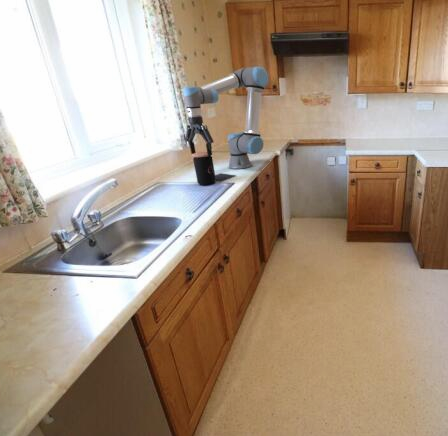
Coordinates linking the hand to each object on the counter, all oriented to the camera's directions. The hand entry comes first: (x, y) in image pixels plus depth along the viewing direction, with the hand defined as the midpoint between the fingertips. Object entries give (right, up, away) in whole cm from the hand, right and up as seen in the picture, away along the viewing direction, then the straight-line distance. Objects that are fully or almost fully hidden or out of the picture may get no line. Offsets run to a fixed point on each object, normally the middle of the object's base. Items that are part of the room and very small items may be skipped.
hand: (201, 154), depth 187 cm
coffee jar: (+1, -16, +7) cm, 18 cm away
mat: (+6, -11, +17) cm, 22 cm away
